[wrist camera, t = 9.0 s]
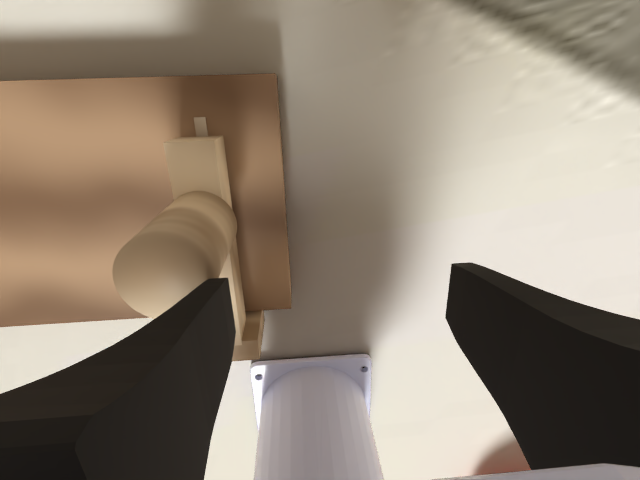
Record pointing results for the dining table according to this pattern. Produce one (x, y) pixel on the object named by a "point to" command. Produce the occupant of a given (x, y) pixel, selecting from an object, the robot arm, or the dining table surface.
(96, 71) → the dining table surface
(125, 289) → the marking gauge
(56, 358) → the dining table surface
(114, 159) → the walnut board
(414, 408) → the dining table surface
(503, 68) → the dining table surface
